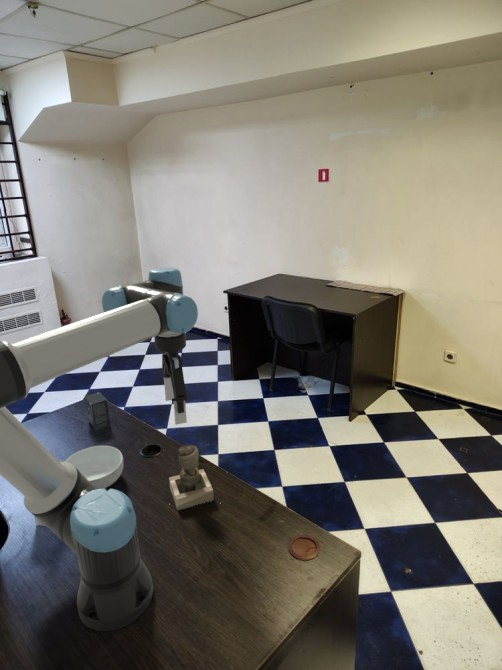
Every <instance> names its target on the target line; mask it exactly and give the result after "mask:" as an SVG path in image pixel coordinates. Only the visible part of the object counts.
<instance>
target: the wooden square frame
mask: <svg viewBox="0 0 502 670" xmlns="http://www.w3.org/2000/svg"><path fill="white" fill-rule="evenodd" d="M168 481H169V483H168V484H169V488H170V492H171V495H172V497H173V501H174V505H175V507H176V510H177V511H181V510H185V509H188V508H191V507H192V508H193V507H195V505H196V506H199V505H203V504H206V503H205V502H207V503H210V502H213V501H212V500H214V501H215V498H214V489H213V487H212V484H211V482H210V480H209V478H208V476H207V474H206V472H205V469H204V468H202V469H199V481H198V483H197V484H196V487H195V489H196V490H194V491H190V492H186V488H185V486H184V485H183V484H182V483H181V479H180V474H179V475H173V476H170V477H168ZM209 501H210V502H209ZM202 503H203V504H202ZM198 504H199V505H198Z"/></svg>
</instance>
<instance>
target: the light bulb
mask: <svg viewBox="0 0 502 670" xmlns="http://www.w3.org/2000/svg"><path fill="white" fill-rule="evenodd" d="M177 453H178V454H177V458H178V462H179V465H178V466H179V467H180V469H181V470H180V471H179V475H180V479H181V483H182V484H183V485H184V486H185V488H186V492H190V491H194V490H196V489H195V487H196V484H197V483H198V481H199V470H200V469H199V468H198V467H199V448H198V447H197V446H196V445H194V444H192V445H191V444H190V445H189V444H188V445H183V446H182V445H181V446H180V447H179V448H178V449H177Z"/></svg>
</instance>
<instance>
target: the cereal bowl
mask: <svg viewBox="0 0 502 670" xmlns="http://www.w3.org/2000/svg"><path fill="white" fill-rule="evenodd" d="M64 462H69V463H71V464H73V465H74V466H75V467H76V468H77V469H78V470H79V471H80V472H81V474H82V475H83V476H84V477H85V478H86V479H87V480H88V481H89V482H90V483H92V484H93V485H94V486H95V487H97V488H98V489H103V488H105V489H107V488H108V487H110V486H112V485H113V484H115V482H117V481H118V479H119V478H120V476H121V475H122V472H123V470H124V456H123V453H122V452H121V451H120V449H118V448H117V447H113V446H110V445H94V446H89V447H87V448H83V449H81V450H78V451H77V452H75V453H73V454H71V455H70V456H69V457H68V458H67V459H65V461H64Z"/></svg>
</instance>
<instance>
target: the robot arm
mask: <svg viewBox="0 0 502 670" xmlns="http://www.w3.org/2000/svg"><path fill="white" fill-rule="evenodd" d="M183 288H184V285H183V280H182V273H181V271H180V269H178V268H175V267H157V268H153V269H151V270H149V271H148V280H145V281H141V282H140V281H139V282H135V283H130V284H124V285H117V286H115V287H111V288H108V289H106V290H105V291H104V292H103V294H102V296H101V303H102V304H101V305H102V311H103V312H102V313H99V314H96V315H93V316H90V317H87V318H84V319H81V320H78V321H74V322H72V323H68V324H66V325H63V326H60V327H56V328H54V329H50V330H48V331H44V332H42V333H38V334H36V335H33V336H30V337H26V338H24V339H21V340H18V341H15V342H12V343H10V342H8V341H5V340H3V339H2V340H1V339H0V476H1V477H2V478H3V479H4V480H5V481H7V482H8V483H9V484H10V485H11V486H12V487H14V488H15V489H16V490H17V491H18V492H19V493H20V494H22V495H23V496H24V497H23V503H24V505H23V506H24V508H25V509H26V510H27V511H28V512H29V513H30V514H31V515H32V516H34V518H35V517H36V518H37V519H38V520H39V521H40V522H42V523H43V524H44V525H46V526H45V527H47V528H48V529H49V530H50V531H51V532H52V533H53V534H54V535H56V537H57V538H58V539H59V540H61V542H63V543H64V545H66V546H67V547H68V548H69V549H70V550H71V551H72V552H73V553H74V554H75V556H76V558H77V562H78V567H79V572H80V577H81V578H80V581H79V586H78V591H77V596H76V606H77V611H78V612H77V613H78V616H79V619H80V621H81V622H82V624H84V626H86V627H88V628H89V629H91V630H94V631H98V632H111V631H116V630H119V629H123V628H125V627H127V626H128V625H130V624H132V623H134V622H135V621H137V620H138V619H139V618H140V617H141V616H142V615H143V613H145V611H146V610H147V609H148V607H149V606H150V604H151V602H152V598H153V594H154V585H153V579H152V578H153V577H152V575H151V572H150V570H149V569H148V568H147V566H146V565H145V563H144V561H143V559H142V558H141V554H140V553H141V552H140V544H139V537H138V530H137V529H138V528H137V516H136V511H135V509H134V506H133V503H132V501H131V499H130V498H129V496H127V495H126V494H125V493H124V492H123V491H121V490H118V489H116V488H115V489H114V488H109V489H108V490H107V488H103V489H98V488H97V487H95V486H94V485H93V484H92V483H90V482H89V481H88V480H87V479H86V478H85V477H84V476H83V475H82V474H81V472H80V471H79V470H78V469H77V468H76V467H75V466H74V465H73V464H71V463H69V462H65V461H62V462H59V461H60V460H58V459H57V458H56V457H55V456H54V455H53V454H52V453H51V451H49V450H48V449H47V448H46V447H45V446H44V445H43V444H42V442H40V441H39V440H38V439H37V437H35V436H34V434H33V433H32V432H31V431H29V430H28V429H27V428H26V426H25V425H23V423H22V422H21V421H20V420H19V419H18V418H16V417H15V415H14V414H13V413H12V412H11V411H10V410H9V409H8V408H7V407H8V406H10V405H12V404H13V403H16V402H18V401H21V400H23V399H26V398H27V397H28V395H29V392H30V390H31V389H32V388H34V387H36V386H39V385H41V384H45V383H46V382H49V381H52V380H53V379H56V378H58V377H61V376H63V375H65V374H68V373H70V372H73V371H75V370H77V369H79V368H80V369H81V368H82V367H84V366H87V365H90V364H92V363H94V362H97V361H100V360H101V359H104V358H106V357H109V356H111V355H113V354H116V353H119V352H121V351H124V350H125V349H128V348H131V347H132V346H134V345H135V346H136V345H139V344H140V343H142V342H145V341H146V340H149V339H152V338H153V339H154V348H155V349H156V351H159V352H162V353H161V363H162V364H161V371H162V375H163V384H164V396H165V401H166V402H169V401H171V402H172V403H173V411H174V423H175V424H174V425H177V426H178V425H182V424H187V422H188V421H187V410H186V401H187V400H188V396H187V390H186V385H185V384H186V383H185V377H184V370H183V360H182V358H181V357H182V356H181V355H180V353H179V352H180V351H181V350H183V349H185V347H186V346H187V337H186V333H187V332H189V331H191V330H192V329H193V327H194V326H195V325H196V323H197V320H198V316H199V310H198V306H197V303H196V302H195V300H194V299H193V298H192V297H190V296H187V295H186V294H185V295H184V290H183Z"/></svg>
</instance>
